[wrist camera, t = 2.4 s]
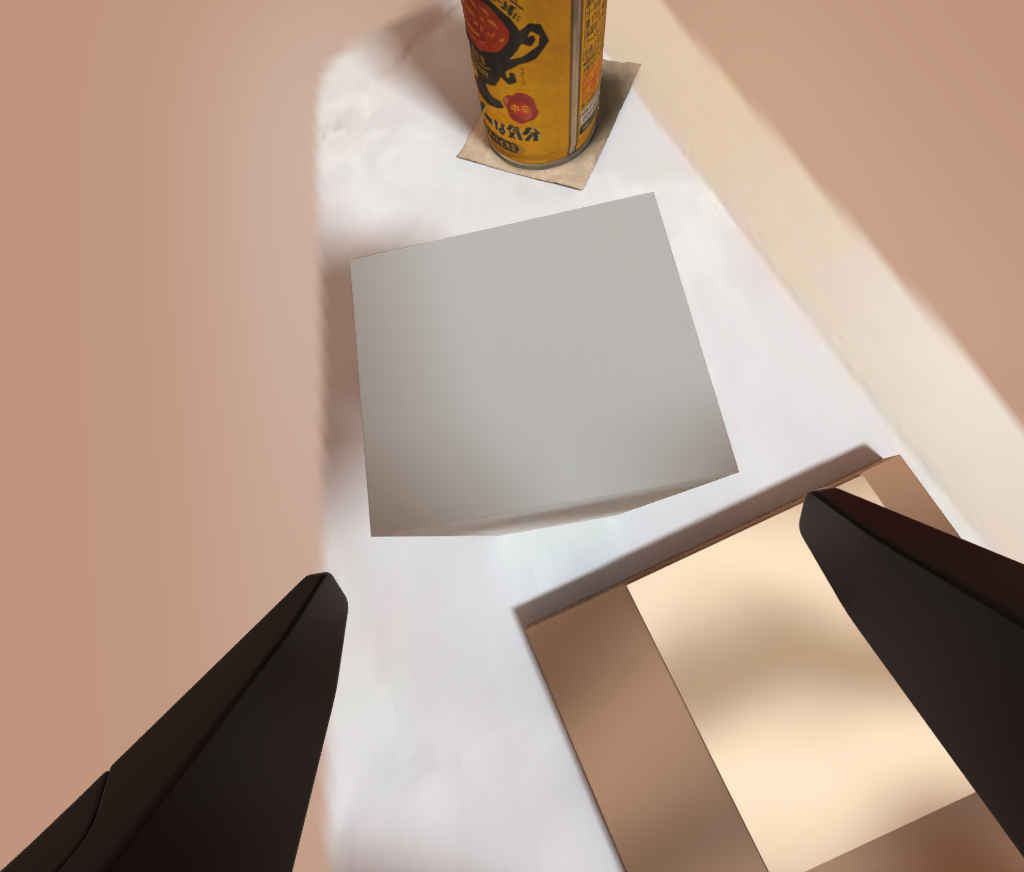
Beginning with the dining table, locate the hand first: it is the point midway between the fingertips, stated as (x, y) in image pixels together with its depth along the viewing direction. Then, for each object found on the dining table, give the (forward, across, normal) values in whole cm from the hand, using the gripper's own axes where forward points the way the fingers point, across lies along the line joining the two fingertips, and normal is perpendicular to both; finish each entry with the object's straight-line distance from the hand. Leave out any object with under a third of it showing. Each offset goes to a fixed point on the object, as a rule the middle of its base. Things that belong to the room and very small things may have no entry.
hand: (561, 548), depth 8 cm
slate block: (+9, 0, +5) cm, 10 cm away
